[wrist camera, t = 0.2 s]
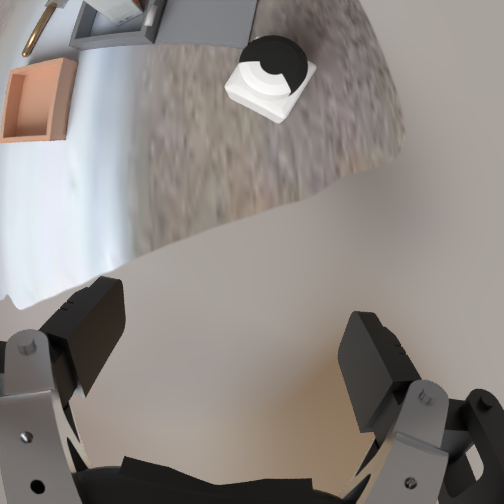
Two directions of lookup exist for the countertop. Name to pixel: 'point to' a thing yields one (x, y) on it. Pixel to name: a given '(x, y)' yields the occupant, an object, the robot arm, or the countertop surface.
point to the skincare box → (117, 9)
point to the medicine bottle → (270, 76)
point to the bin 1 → (38, 101)
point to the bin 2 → (176, 25)
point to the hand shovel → (42, 23)
